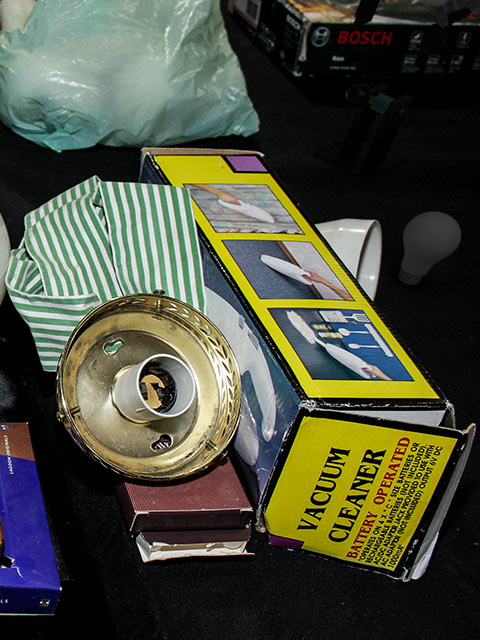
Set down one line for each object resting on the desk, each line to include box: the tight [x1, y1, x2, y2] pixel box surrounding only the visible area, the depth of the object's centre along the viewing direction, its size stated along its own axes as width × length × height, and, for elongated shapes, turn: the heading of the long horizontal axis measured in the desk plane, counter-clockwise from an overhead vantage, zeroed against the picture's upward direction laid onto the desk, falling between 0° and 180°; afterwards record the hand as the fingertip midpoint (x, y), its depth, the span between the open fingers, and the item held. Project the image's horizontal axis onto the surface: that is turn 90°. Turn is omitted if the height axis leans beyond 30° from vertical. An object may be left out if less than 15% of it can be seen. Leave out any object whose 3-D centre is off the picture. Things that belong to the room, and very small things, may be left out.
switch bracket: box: [318, 83, 415, 181], centre depth 131 cm, size 10×8×12 cm
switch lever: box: [345, 82, 396, 116], centre depth 125 cm, size 13×3×3 cm, turn 125°
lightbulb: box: [397, 211, 462, 286], centre depth 110 cm, size 6×6×11 cm
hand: (393, 37), depth 115 cm, fingers open, 9 cm apart
